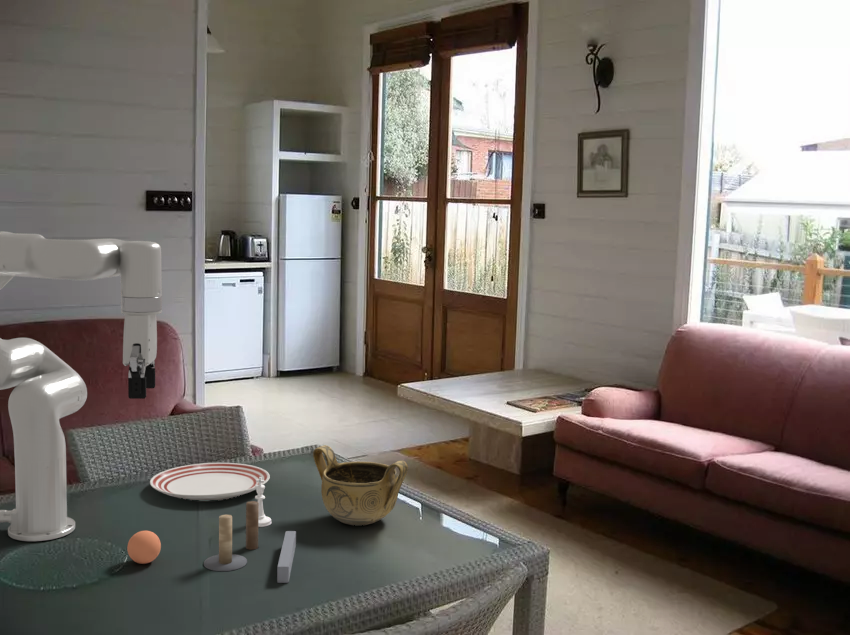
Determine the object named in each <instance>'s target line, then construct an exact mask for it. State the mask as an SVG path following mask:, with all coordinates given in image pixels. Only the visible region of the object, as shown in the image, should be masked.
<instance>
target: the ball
mask: <svg viewBox="0 0 850 635" xmlns="http://www.w3.org/2000/svg"><path fill="white" fill-rule="evenodd" d="M161 548H162V544H161V540H160V538H159V536H158V535H157V534H156V533H155V532H153V531H151V530H140V531H138V532H136V533H134V534H133V535H132V536H131V537H130V538H129V540H128V542H127V548H126V549H127V554H128V556H129V558H130V559H131V560H132V561H133V562H135V563H137V564H140V565H141V564H142V565H145V564H149V563H151V562H154V560H156V559H157V558H158V556H159V554H160V552H161Z"/></svg>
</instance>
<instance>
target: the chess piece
mask: <svg viewBox="0 0 850 635" xmlns="http://www.w3.org/2000/svg"><path fill="white" fill-rule="evenodd" d="M256 482H259V485H256V486H255V488H256V490H255V491H256V494H257V495H255V496H254V499H255V500H257V502H258V503H259V515H258V528H263V527H267V526H268V527H269V526H270V525H271V524H272V519H271V517H269V516H266V514H265V512H264V504H263V500H265V499H266V496H265V495H264V492H265V488H266V486H265V484H264V485H262V483H264V480H262V477H259V480H256Z"/></svg>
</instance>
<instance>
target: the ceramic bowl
mask: <svg viewBox="0 0 850 635" xmlns="http://www.w3.org/2000/svg"><path fill="white" fill-rule="evenodd" d="M312 458H313V460H314V463H315V466H316V469H317V471H318V474H319V477H320V480H321V498H322V501H323V505H324V507H325V509H326V510H327V512H328V513H329V514H330V515H331V516H332V517H333V518H334V519H335V520H337V521H339V522H341V523H343V524H346V525H350V526H354V525H355V526H357V527H359V526H360V527H361V526H362V525H363V526H367V525H371V524H374V523H376V522H378V521H380V520H382V519H384V518H385V517H386V516H387V515H388V514H390V513H391V511H392V510H393V509H394V508H395V506H396V504H397V502H398V497H399V493H400V490H401V487H402V485H403V483H404V480H405V478H406V476H407V474H408V471H409V466H408V464H407V462H406V461H405V460H402V459H400V460H397V461H396V462H394V463H392V464H384V463H380V462H375V461H345V462H340V463H339V462H338V461H337V456H336V454H335V452H334V450H333V448H332V447H331V446H329V445H327V444H323V445H321V446H318V447H316V448H315V449H313V451H312ZM396 468H397V469H398V470H399V474H398V470H397V469H396Z"/></svg>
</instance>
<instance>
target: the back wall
mask: <svg viewBox="0 0 850 635" xmlns="http://www.w3.org/2000/svg"><path fill="white" fill-rule="evenodd" d="M296 543H297V531H295V530H287V531H285V533H284V538H283V542H282V546H281V549H280V550H281V551H280V555H279V558H278V564H277V570H276V573H277V577H276V583H277V584H278V583H279V584H282V583H284V584H288V583H290V577H291V571H292V566H293V563H294V557H295V553H296V552H295V551H296V546H297V544H296Z"/></svg>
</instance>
